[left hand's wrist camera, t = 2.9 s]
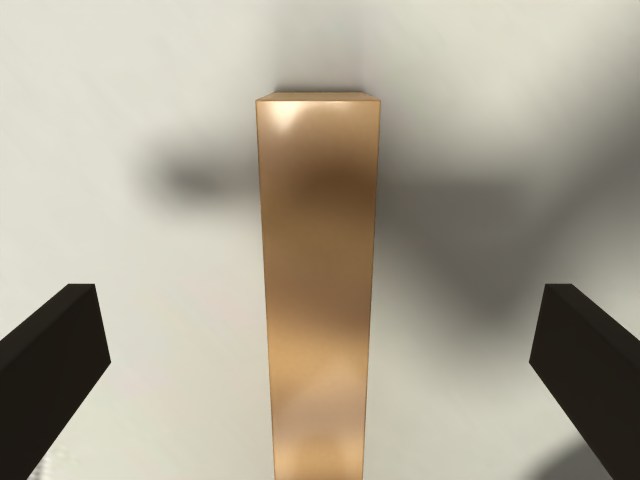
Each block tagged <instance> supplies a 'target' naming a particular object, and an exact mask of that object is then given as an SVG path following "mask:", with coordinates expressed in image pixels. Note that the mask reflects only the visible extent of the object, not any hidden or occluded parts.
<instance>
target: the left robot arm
mask: <svg viewBox="0 0 640 480" xmlns="http://www.w3.org/2000/svg"><path fill="white" fill-rule="evenodd" d="M110 363H111V360H110V355H109V350H108V345H107V340H106V336H105V331H104V326H103V321H102V316H101V312H100V307H99V302H98V297H97V293H96V288H95V284H68V285H66V286H65V287H64V288H63V289H62V290H60V291H59V292H58V293H57V294H56V295H54V296H53V297H52V298H51V299H50V300H48V301H47V302H46V303H45V304H44V305H42V306H41V307H40V308H39V309H38V310H37V311H35V312H34V313H33V314H32V315H31V316H29V317H28V318H27V319H26V320H25V321H23V322H22V323H21V324H20V325H19V326H17V327H16V328H15V329H14V330H13V331H11V332H10V333H9V334H8V335H7V336H5V337H4V338H3V339H2V340H1V341H0V480H27V478H28V477H29V476H30V474H31V473H32V471H33V470H34V469H35V467H36V466H37V465H38V463H39V462H40V460H41V459H42V458H43V456H44V455H45V453H46V452H47V451H48V449H49V448H50V446H51V445H52V444H53V442H54V441H55V440H56V438H57V437H58V435H59V434H60V433H61V431H62V430H63V428H64V427H65V426H66V424H67V423H68V422H69V420H70V419H71V417H72V416H73V415H74V413H75V412H76V410H77V409H78V408H79V406H80V405H81V404H82V402H83V401H84V399H85V398H86V397H87V395H88V394H89V392H90V391H91V390H92V388H93V387H94V386H95V384H96V383H97V381H98V380H99V379H100V377H101V376H102V374H103V373H104V372H105V370H106V369H107V367H108V366H109V365H110ZM529 363H530V365H531V366H532V367H533V369H534V370H535V372H536V373H537V374H538V376H539V377H540V379H541V380H542V381H543V383H544V384H545V386H546V387H547V388H548V390H549V391H550V392H551V394H552V395H553V397H554V398H555V399H556V401H557V402H558V404H559V405H560V406H561V408H562V409H563V410H564V412H565V413H566V415H567V416H568V417H569V419H570V420H571V422H572V423H573V424H574V426H575V427H576V428H577V430H578V431H579V433H580V434H581V435H582V437H583V438H584V440H585V441H586V442H587V444H588V445H589V446H590V448H591V449H592V451H593V452H594V453H595V455H596V456H597V458H598V459H599V460H600V462H601V463H602V465H603V466H604V467H605V469H606V470H607V471H608V473H609V474H610V476H611V477H612V478H613V480H640V341H639V340H638V339H637V338H636V337H635V336H633V335H632V334H631V333H630V332H629V331H627V330H626V329H625V328H624V327H623V326H621V325H620V324H619V323H618V322H617V321H615V320H614V319H613V318H612V317H611V316H609V315H608V314H607V313H606V312H605V311H603V310H602V309H601V308H600V307H599V306H598V305H596V304H595V303H594V302H593V301H592V300H590V299H589V298H588V297H587V296H586V295H584V294H583V293H582V292H581V291H580V290H578V289H577V288H576V287H575V286H574V285H572V284H545V288H544V293H543V297H542V302H541V307H540V312H539V316H538V321H537V326H536V331H535V336H534V340H533V345H532V350H531V355H530V360H529Z"/></svg>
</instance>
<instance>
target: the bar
mask: <svg viewBox="0 0 640 480" xmlns="http://www.w3.org/2000/svg"><path fill="white" fill-rule="evenodd" d="M255 103H256V123H257V142H258V162H259V181H260V201H261V220H262V240H263V259H264V279H265V298H266V318H267V337H268V357H269V376H270V396H271V416H272V435H273V455H274V474H275V480H363V461H364V440H365V419H366V398H367V377H368V357H369V336H370V315H371V294H372V274H373V253H374V232H375V211H376V191H377V170H378V149H379V128H380V108H381V101H380V100H379V99H377V98H375V97H372V96H370V95H368V94H366V93H363V92H274V93H271V94H269V95H267V96H264V97H262V98H260V99H257V100H256V101H255Z"/></svg>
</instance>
